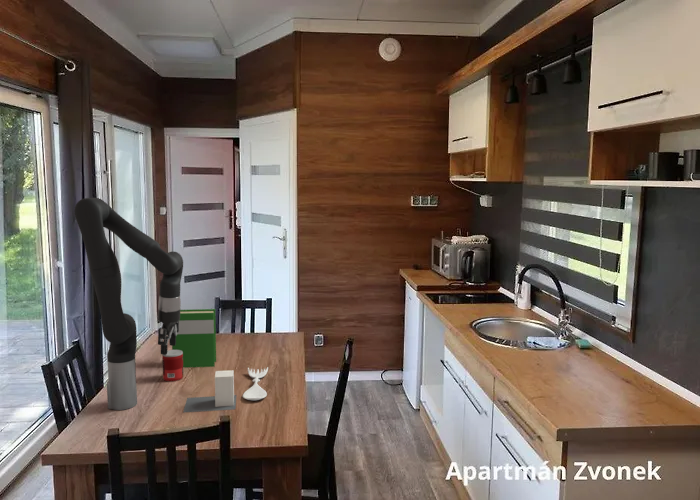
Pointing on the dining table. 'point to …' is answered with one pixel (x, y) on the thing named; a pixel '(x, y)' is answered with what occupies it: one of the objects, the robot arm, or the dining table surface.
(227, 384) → the white rectangular block
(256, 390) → the white piece
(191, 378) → the dining table surface
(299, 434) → the dining table surface
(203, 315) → the hardback book
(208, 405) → the mat
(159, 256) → the robot arm
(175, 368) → the canned food
